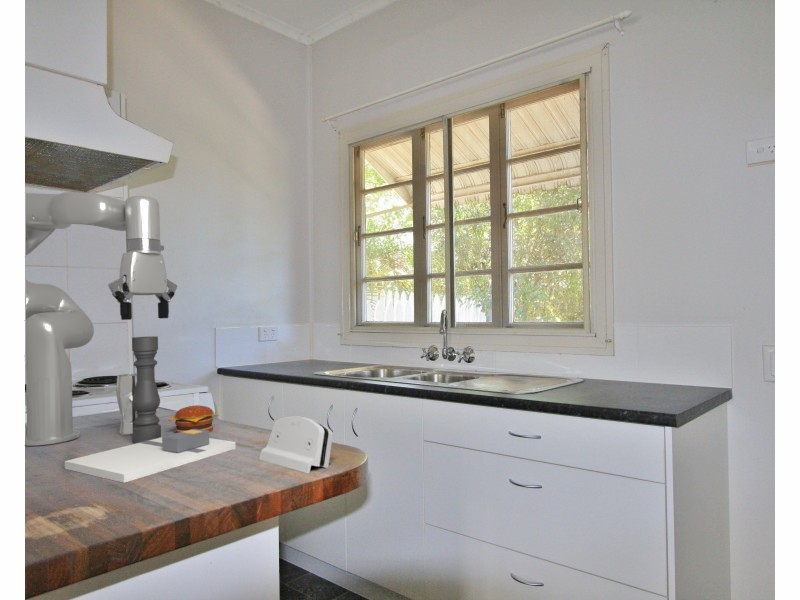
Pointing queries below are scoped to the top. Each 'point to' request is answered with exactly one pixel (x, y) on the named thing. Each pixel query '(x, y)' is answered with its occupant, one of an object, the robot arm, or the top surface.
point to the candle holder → (145, 390)
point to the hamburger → (194, 418)
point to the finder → (185, 440)
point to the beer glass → (126, 402)
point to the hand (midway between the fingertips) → (145, 318)
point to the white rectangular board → (142, 459)
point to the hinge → (298, 444)
